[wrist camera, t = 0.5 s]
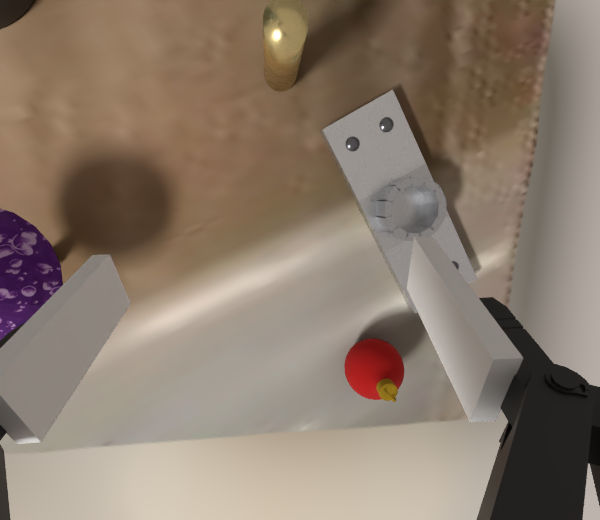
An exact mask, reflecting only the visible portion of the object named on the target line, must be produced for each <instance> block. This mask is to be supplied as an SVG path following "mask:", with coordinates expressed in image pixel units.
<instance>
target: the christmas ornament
mask: <svg viewBox="0 0 600 520" xmlns="http://www.w3.org/2000/svg"><path fill="white" fill-rule="evenodd" d="M345 375H346V378H347V380H348V382H349V384H350V386H351V387H352V388H353V389H354V390H355V391H356V392H357V393H358V394H360V395H361V396H363V397H365V398H368V399H373V400H379V399H383V400H386V401H390V400H392V401H393V402H395V401H396V399H395V397H396V395H397V393H398V389H399V387H400V386H401V384H402V381H403V377H404V365H403V361H402V358H401V356H400V354H399V353H398V351H397V350H396V349H395V348H394V347H393V346H392V345H390V344H389V343H387V342H385V341H383V340H380V339H374V338H372V339H365V340H362V341H360V342H358V343H356V344H355V345H354V346H353V347H352V348H351V349H350V351H349V352H348V354H347V356H346V360H345Z"/></svg>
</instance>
